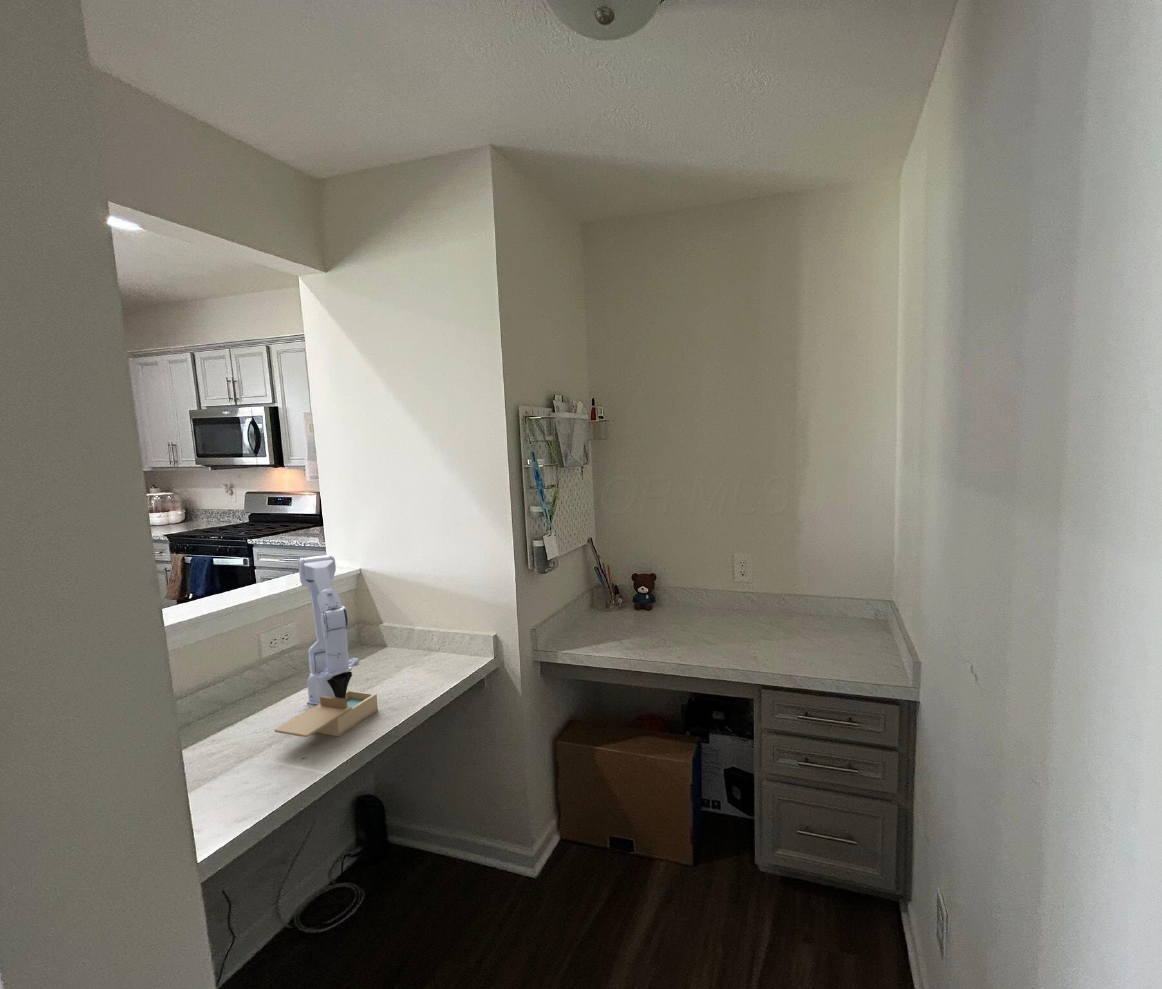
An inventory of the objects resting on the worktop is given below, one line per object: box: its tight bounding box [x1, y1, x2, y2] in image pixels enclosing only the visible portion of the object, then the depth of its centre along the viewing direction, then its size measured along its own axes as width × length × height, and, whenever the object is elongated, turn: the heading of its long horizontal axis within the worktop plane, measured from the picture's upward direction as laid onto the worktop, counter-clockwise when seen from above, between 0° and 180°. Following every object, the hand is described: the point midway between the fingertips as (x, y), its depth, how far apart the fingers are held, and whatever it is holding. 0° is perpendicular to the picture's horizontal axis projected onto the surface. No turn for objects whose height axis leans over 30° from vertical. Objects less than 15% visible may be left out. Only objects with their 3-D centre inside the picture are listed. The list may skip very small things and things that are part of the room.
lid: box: [274, 695, 352, 738], centre depth 165 cm, size 16×10×3 cm, turn 160°
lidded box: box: [315, 689, 379, 737], centre depth 176 cm, size 16×10×5 cm, turn 160°
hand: (340, 699), depth 175 cm, fingers closed
